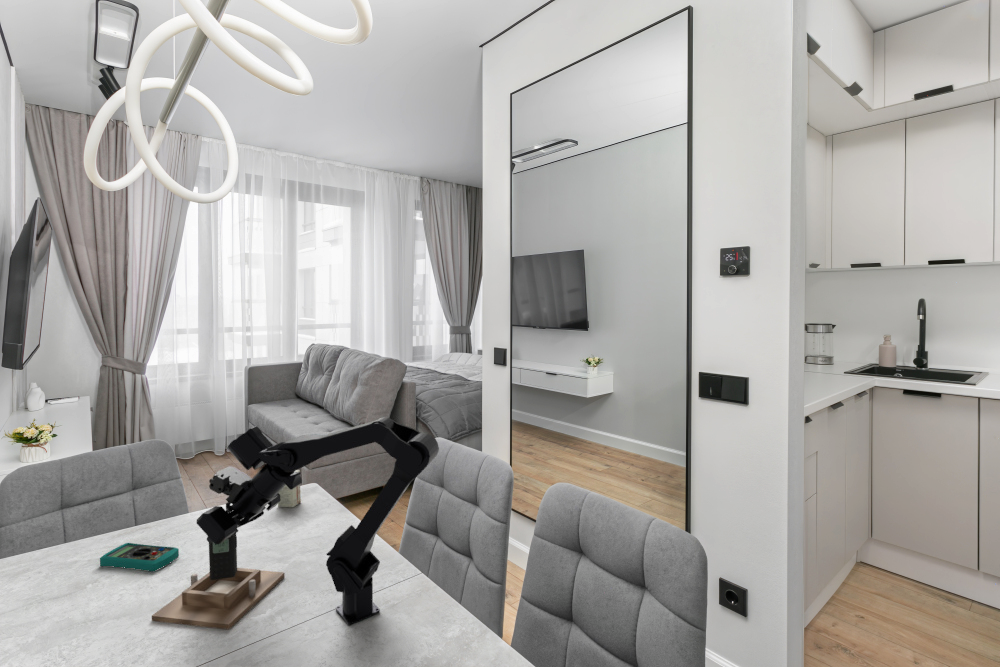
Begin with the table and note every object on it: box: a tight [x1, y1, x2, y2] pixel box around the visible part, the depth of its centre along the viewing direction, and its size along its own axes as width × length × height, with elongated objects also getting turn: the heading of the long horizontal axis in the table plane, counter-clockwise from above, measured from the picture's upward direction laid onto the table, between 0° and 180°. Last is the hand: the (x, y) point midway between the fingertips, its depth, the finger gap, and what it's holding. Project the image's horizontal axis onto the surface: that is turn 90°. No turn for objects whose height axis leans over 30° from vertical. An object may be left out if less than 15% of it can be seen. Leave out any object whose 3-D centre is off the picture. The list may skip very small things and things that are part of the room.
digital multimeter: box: [99, 542, 180, 572], centre depth 115 cm, size 7×15×3 cm, turn 82°
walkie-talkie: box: [208, 502, 238, 580], centre depth 101 cm, size 5×3×15 cm
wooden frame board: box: [151, 567, 286, 631], centre depth 101 cm, size 16×18×4 cm
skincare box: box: [277, 469, 302, 508], centre depth 149 cm, size 5×4×10 cm
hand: (216, 535), depth 101 cm, fingers closed on walkie-talkie, 4 cm apart
